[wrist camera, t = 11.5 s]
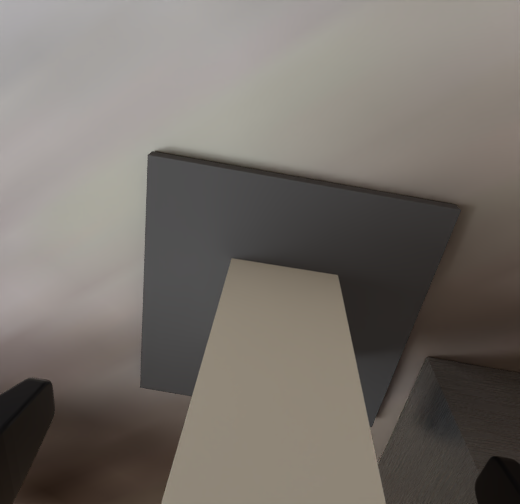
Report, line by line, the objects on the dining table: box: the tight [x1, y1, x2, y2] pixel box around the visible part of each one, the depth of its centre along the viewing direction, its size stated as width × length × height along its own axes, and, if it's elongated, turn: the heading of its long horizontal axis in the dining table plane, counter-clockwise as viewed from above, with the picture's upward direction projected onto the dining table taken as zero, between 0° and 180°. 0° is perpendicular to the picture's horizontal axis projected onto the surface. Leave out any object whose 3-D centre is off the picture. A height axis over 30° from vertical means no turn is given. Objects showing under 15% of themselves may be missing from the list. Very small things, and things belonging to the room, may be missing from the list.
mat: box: [140, 151, 461, 427], centre depth 12 cm, size 8×8×1 cm
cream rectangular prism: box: [161, 258, 386, 504], centre depth 8 cm, size 3×3×8 cm
